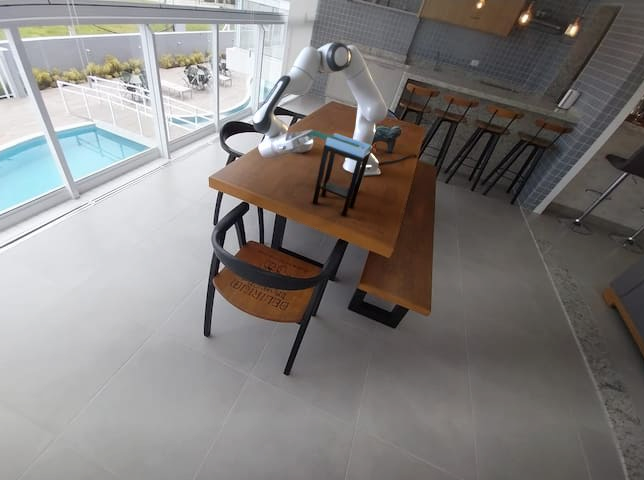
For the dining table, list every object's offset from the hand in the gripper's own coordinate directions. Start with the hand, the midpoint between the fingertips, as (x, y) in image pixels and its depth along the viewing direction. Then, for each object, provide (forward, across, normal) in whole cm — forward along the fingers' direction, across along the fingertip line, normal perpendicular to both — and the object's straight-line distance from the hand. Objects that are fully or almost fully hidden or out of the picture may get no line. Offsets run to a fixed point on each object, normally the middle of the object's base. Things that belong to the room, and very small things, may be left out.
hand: (314, 135), depth 130 cm
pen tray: (+14, 0, +9) cm, 16 cm away
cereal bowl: (-39, +46, +10) cm, 61 cm away
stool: (0, 0, +32) cm, 32 cm away
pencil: (+9, 0, +5) cm, 11 cm away
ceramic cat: (-5, +90, +30) cm, 95 cm away
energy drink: (+2, +20, +34) cm, 39 cm away
